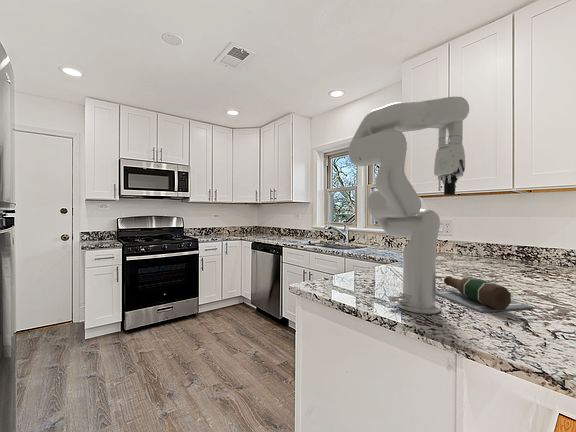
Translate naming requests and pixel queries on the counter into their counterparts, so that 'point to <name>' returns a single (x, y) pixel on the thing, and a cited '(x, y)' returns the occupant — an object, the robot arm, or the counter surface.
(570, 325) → the counter surface
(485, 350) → the counter surface
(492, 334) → the counter surface
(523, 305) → the mat
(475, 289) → the beer bottle
